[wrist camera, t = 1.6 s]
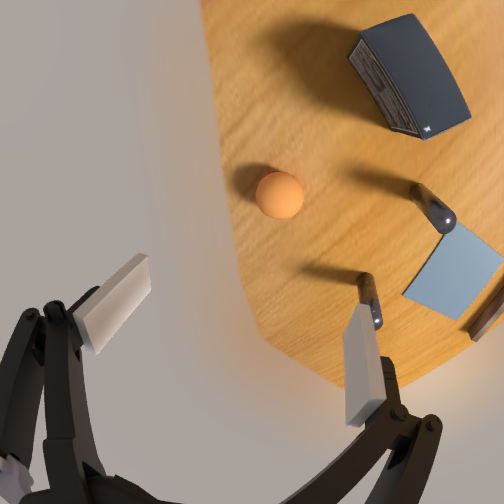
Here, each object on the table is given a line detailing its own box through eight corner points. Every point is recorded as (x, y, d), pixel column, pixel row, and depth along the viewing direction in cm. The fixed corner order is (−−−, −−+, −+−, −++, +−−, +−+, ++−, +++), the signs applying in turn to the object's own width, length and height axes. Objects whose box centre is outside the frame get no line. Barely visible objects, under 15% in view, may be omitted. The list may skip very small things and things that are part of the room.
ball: (269, 160, 32) (260, 170, 27) (311, 178, 31) (310, 191, 27) (254, 199, 34) (244, 215, 30) (294, 215, 34) (290, 234, 30)
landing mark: (453, 219, 29) (454, 219, 28) (503, 258, 28) (504, 258, 28) (402, 294, 36) (402, 295, 36) (456, 320, 36) (456, 320, 36)
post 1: (362, 270, 36) (370, 313, 28) (377, 276, 36) (387, 320, 28) (353, 283, 37) (358, 327, 30) (367, 289, 37) (374, 333, 30)
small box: (433, 113, 23) (476, 119, 14) (391, 133, 26) (423, 145, 17) (388, 36, 20) (416, 10, 11) (344, 55, 23) (356, 32, 14)
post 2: (415, 179, 28) (443, 205, 20) (430, 189, 28) (460, 217, 20) (406, 197, 29) (430, 227, 22) (421, 206, 29) (448, 238, 22)
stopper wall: (518, 264, 28) (525, 272, 26) (523, 268, 28) (529, 276, 26) (467, 330, 36) (471, 339, 34) (472, 332, 36) (476, 342, 34)
